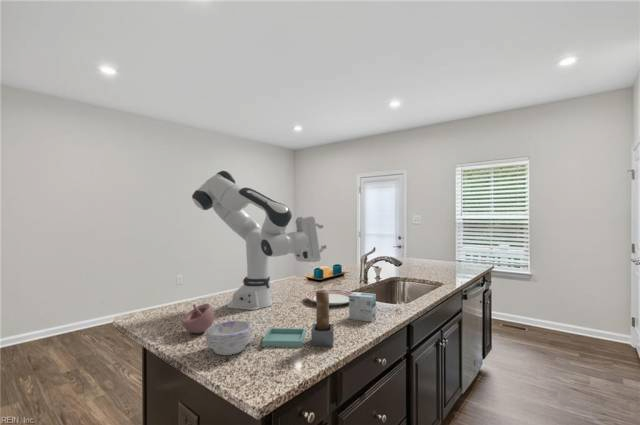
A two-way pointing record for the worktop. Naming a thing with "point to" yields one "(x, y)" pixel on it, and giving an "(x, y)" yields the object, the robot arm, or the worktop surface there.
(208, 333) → the paper bowls
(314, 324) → the grey square socket base
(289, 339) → the tray
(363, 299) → the light bulb box
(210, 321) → the mortar and pestle
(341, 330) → the worktop surface
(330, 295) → the dinner plate
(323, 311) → the dowel pin
